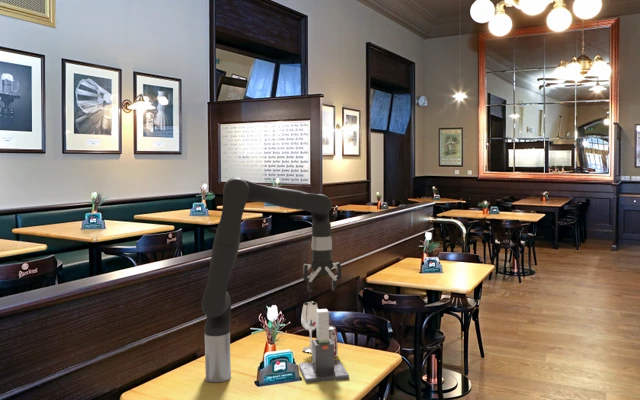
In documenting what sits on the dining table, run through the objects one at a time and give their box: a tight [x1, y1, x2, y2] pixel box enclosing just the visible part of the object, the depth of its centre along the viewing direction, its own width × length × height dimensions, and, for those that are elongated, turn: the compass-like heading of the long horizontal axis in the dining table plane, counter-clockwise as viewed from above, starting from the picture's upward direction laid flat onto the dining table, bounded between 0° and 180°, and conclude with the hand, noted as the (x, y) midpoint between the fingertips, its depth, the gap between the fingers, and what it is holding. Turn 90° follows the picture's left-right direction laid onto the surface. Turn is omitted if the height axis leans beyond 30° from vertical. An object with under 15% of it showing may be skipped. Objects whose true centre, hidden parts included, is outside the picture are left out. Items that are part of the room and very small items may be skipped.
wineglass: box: [300, 301, 319, 354], centre depth 241 cm, size 8×8×20 cm
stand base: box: [298, 338, 350, 384], centre depth 216 cm, size 16×16×12 cm
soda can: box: [329, 325, 338, 358], centre depth 234 cm, size 7×7×12 cm
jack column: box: [315, 308, 330, 344], centre depth 216 cm, size 4×4×16 cm
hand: (322, 290), depth 214 cm, fingers open, 8 cm apart
